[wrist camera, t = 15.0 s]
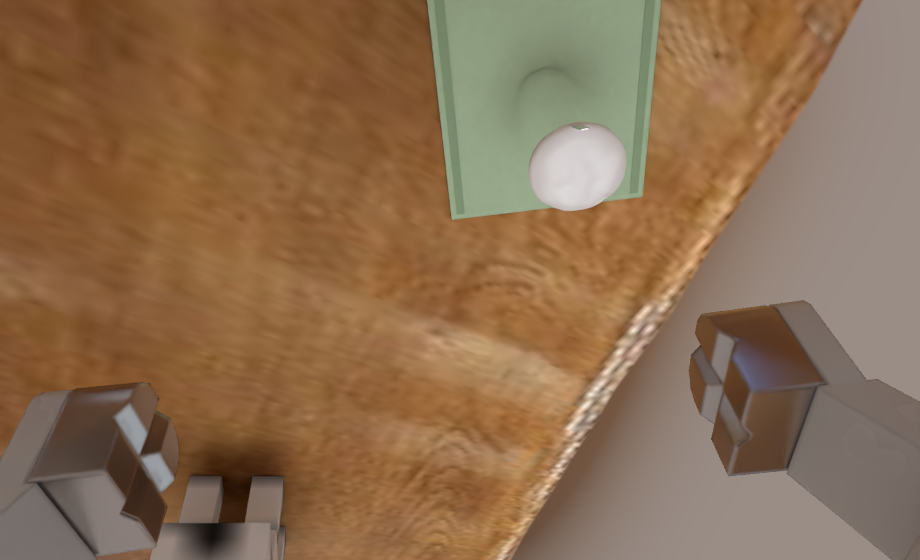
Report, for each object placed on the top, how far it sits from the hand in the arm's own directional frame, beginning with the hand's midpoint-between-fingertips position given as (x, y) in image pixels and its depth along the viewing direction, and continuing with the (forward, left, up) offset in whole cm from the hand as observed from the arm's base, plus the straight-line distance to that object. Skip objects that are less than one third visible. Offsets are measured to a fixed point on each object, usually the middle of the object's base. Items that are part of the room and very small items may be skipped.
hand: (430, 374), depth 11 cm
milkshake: (+9, +7, -29) cm, 31 cm away
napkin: (+9, +7, -29) cm, 31 cm away
